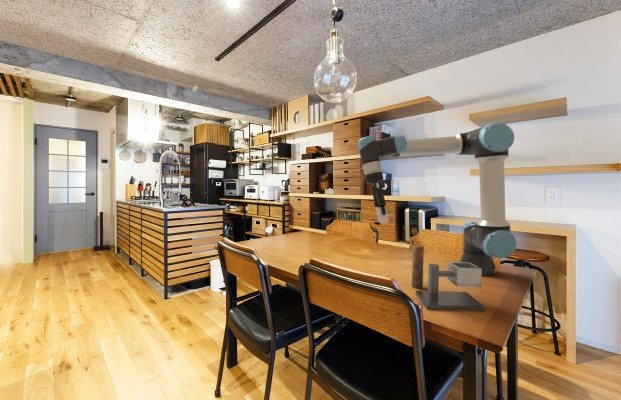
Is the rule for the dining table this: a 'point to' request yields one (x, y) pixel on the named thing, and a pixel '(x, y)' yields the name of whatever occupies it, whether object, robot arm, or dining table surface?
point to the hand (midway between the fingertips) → (383, 222)
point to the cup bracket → (445, 300)
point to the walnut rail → (417, 267)
